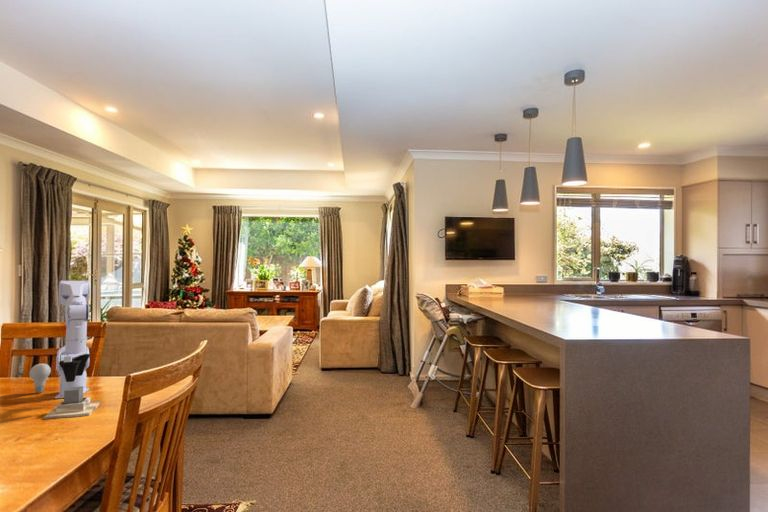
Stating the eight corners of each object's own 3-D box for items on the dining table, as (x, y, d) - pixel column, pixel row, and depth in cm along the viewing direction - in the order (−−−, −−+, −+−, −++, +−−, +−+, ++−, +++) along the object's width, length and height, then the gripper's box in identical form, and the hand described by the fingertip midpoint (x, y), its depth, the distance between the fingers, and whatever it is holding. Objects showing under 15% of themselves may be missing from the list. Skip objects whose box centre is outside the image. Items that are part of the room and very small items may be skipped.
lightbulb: (37, 396, 147) (38, 366, 147) (24, 394, 148) (25, 365, 149) (54, 391, 153) (55, 362, 153) (41, 389, 154) (42, 361, 155)
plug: (68, 406, 134) (69, 387, 134) (82, 405, 136) (83, 386, 136) (63, 410, 130) (64, 390, 131) (78, 409, 132) (79, 389, 132)
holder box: (59, 406, 137) (59, 397, 137) (100, 403, 141) (101, 394, 141) (43, 419, 125) (44, 409, 125) (89, 415, 130) (89, 405, 130)
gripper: (70, 336, 144) (68, 373, 144) (53, 343, 130) (51, 385, 130) (93, 335, 147) (92, 372, 146) (79, 342, 133) (77, 383, 133)
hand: (74, 378), depth 138 cm, fingers open, 7 cm apart
